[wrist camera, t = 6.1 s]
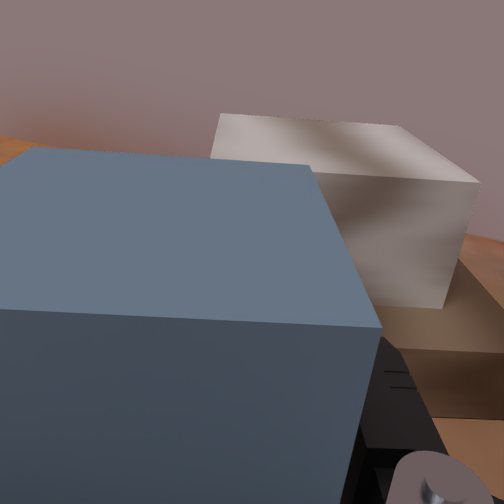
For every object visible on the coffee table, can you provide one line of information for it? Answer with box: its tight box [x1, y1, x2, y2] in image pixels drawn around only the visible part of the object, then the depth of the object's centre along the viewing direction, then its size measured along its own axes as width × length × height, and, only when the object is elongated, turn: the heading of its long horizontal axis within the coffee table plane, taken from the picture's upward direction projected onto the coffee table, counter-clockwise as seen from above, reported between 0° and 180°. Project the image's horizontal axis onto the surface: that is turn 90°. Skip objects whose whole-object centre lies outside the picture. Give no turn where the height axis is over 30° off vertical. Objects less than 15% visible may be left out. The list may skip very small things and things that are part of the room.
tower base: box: [210, 113, 504, 420], centre depth 21 cm, size 14×14×8 cm
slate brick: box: [0, 147, 383, 504], centre depth 8 cm, size 5×5×10 cm
